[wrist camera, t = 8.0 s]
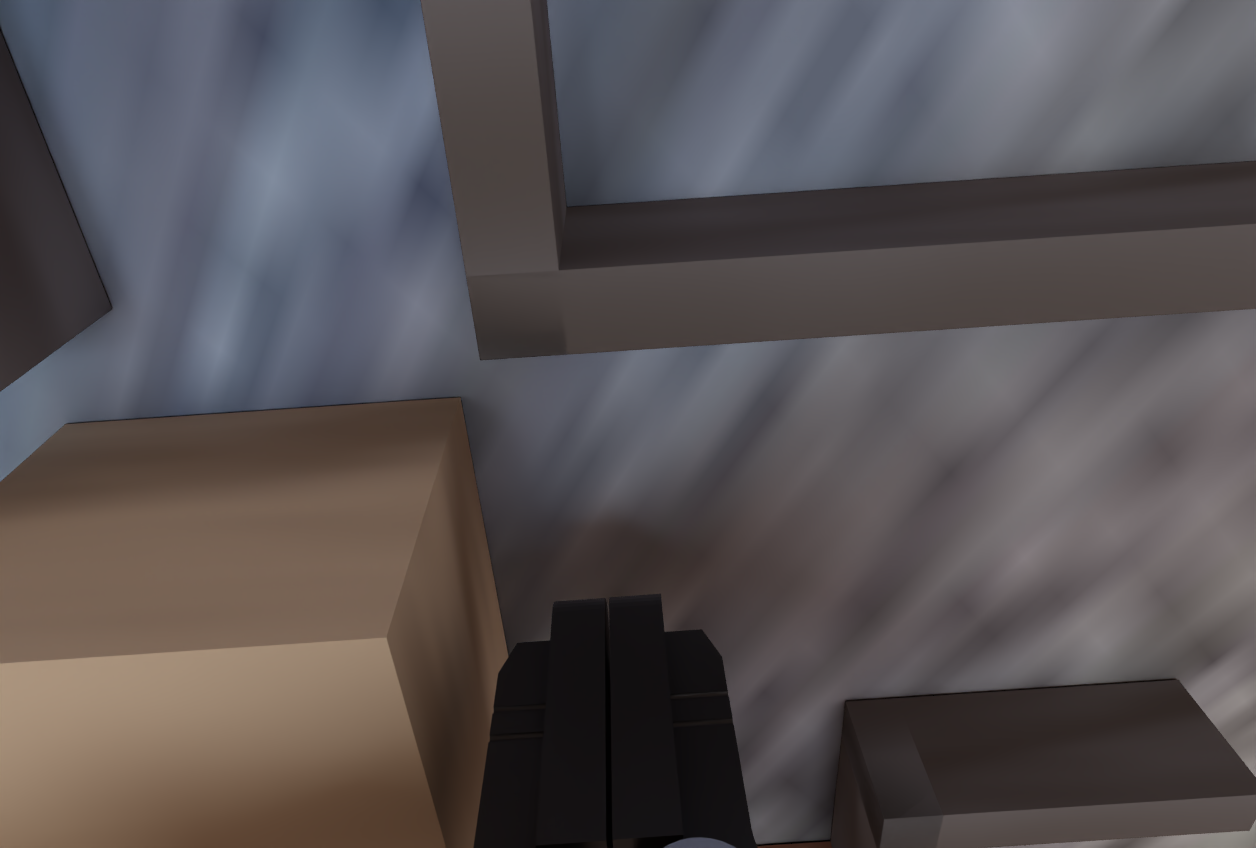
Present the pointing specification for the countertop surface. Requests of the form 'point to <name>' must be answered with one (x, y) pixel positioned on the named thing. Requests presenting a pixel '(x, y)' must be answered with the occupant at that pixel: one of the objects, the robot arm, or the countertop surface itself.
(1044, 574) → the countertop surface
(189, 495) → the maple block
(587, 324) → the channel
